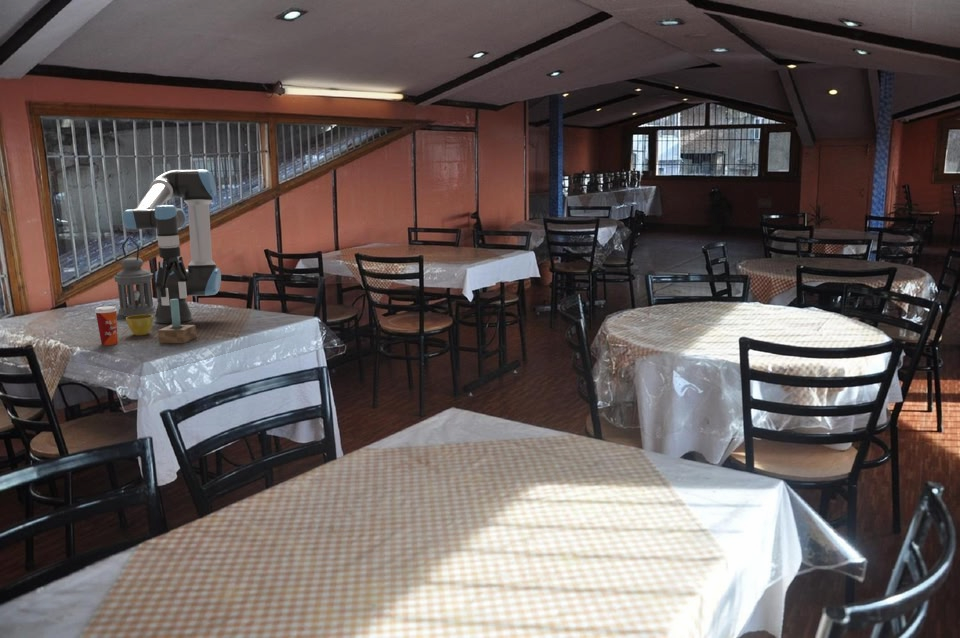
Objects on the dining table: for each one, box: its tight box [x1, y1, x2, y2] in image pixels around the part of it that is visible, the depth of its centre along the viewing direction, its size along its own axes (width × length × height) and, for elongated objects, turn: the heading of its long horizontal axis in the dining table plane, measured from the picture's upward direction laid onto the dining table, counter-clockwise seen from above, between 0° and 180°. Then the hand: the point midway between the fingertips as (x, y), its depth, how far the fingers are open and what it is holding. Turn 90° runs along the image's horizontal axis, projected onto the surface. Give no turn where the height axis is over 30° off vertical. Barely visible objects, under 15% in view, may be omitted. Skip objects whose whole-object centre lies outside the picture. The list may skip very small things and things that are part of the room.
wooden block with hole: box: [157, 324, 197, 344], centre depth 305 cm, size 10×10×5 cm
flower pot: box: [125, 314, 154, 336], centre depth 317 cm, size 10×10×7 cm
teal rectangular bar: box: [170, 299, 182, 329], centre depth 304 cm, size 3×3×16 cm
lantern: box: [113, 236, 157, 317], centre depth 362 cm, size 17×17×35 cm
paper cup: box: [94, 305, 119, 346], centre depth 300 cm, size 8×8×14 cm
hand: (174, 301), depth 303 cm, fingers open, 13 cm apart
